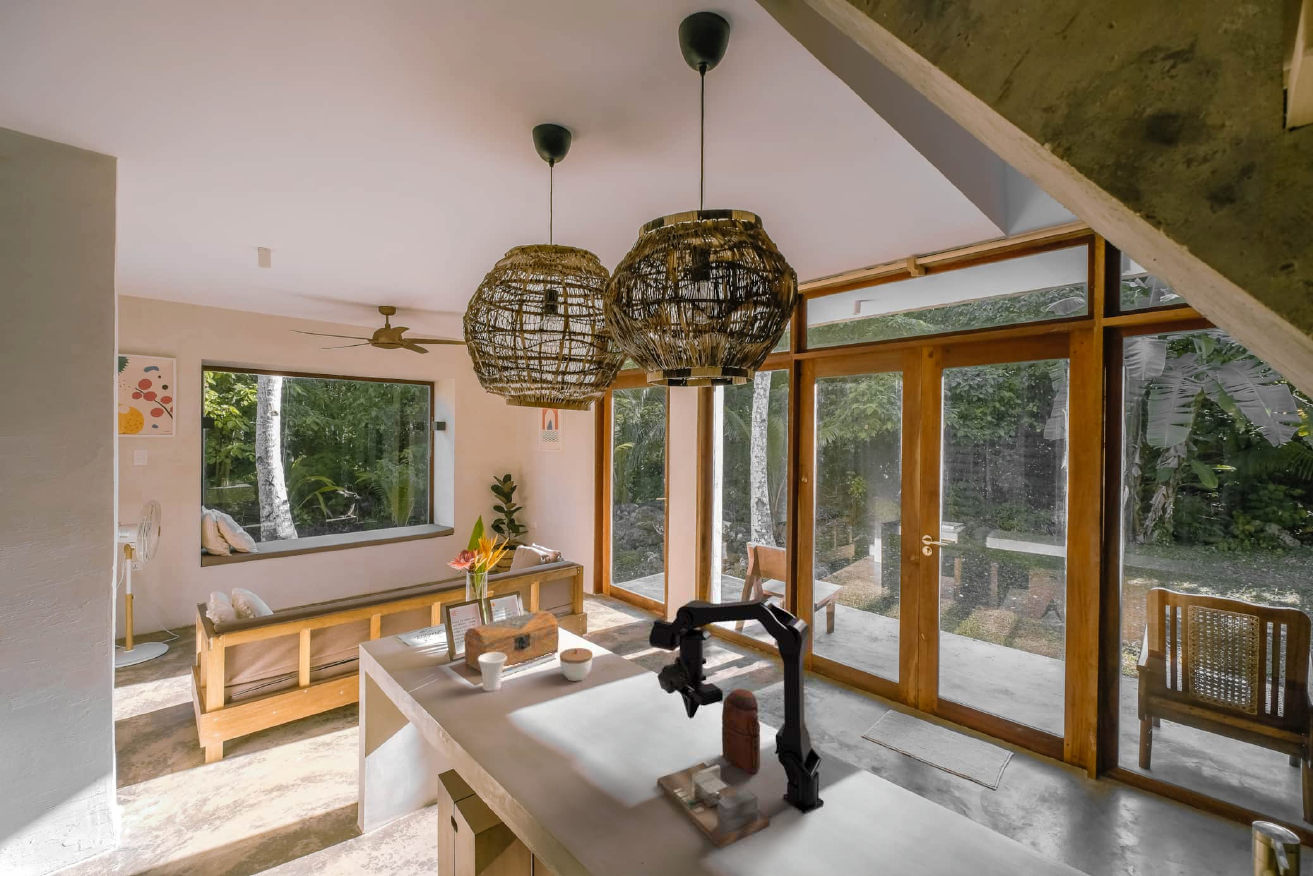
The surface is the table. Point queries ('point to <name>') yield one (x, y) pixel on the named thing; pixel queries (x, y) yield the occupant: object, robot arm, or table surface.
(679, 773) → the gauge base
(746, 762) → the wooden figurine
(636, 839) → the table surface
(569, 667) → the lidded jar
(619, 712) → the table surface
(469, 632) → the wooden box
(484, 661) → the cup
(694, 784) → the gauge carriage
